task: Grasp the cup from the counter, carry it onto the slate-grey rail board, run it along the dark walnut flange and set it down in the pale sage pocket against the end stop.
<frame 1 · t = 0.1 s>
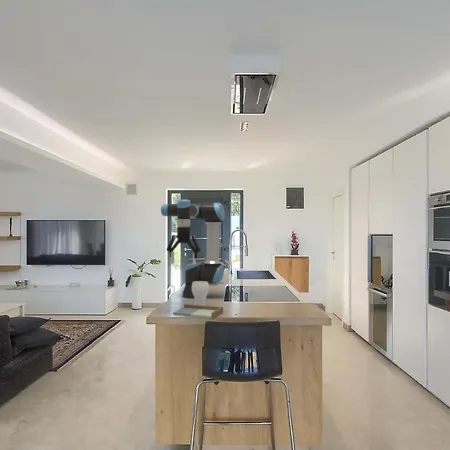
hand: (183, 263, 246), 28 cm above the countertop, fingers open, 13 cm apart
cup: (200, 307, 263), on the countertop
rail board: (198, 313, 244), on the countertop
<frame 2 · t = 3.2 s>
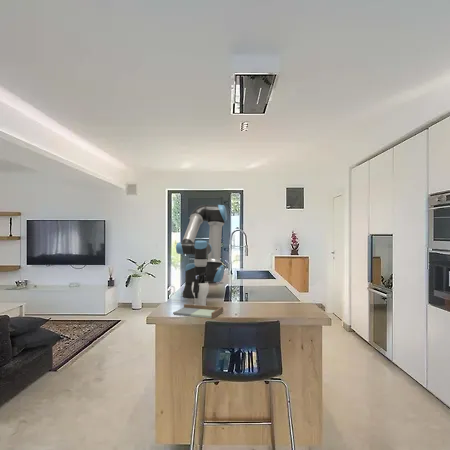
hand: (200, 301, 262), 3 cm above the countertop, fingers closed on cup, 11 cm apart
cup: (200, 307, 263), on the countertop, touching gripper
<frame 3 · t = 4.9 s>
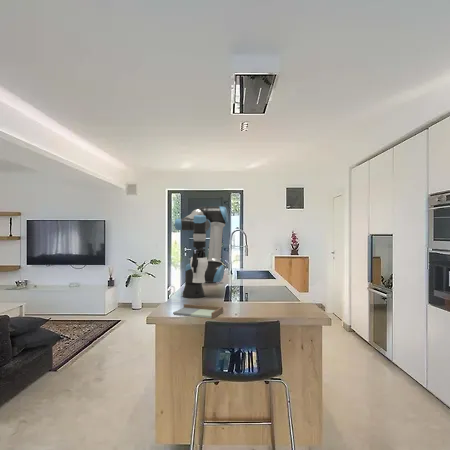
hand: (198, 277, 259), 18 cm above the countertop, fingers closed on cup, 11 cm apart
cup: (198, 282, 259), point 15 cm above the countertop, touching gripper
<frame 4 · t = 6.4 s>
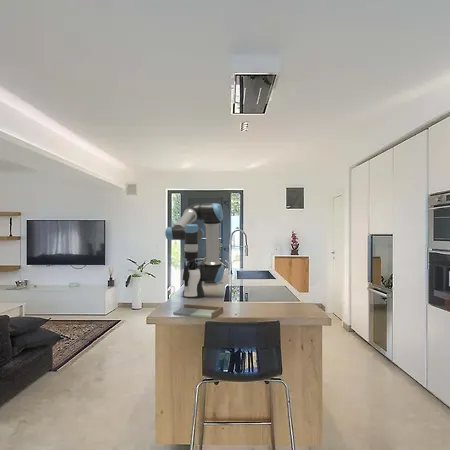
hand: (190, 290, 243), 13 cm above the countertop, fingers closed on cup, 11 cm apart
cup: (190, 296, 243), point 10 cm above the countertop, touching gripper
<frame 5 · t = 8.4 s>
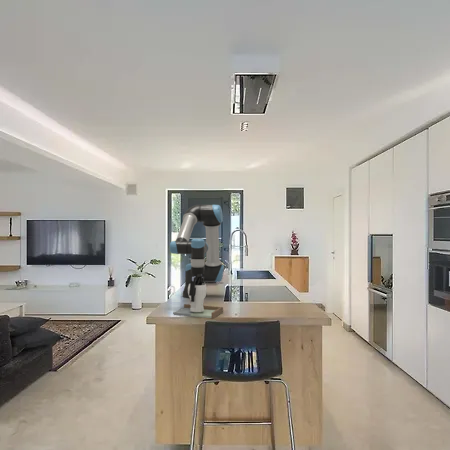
hand: (197, 305, 242), 5 cm above the countertop, fingers closed on cup, 11 cm apart
cup: (197, 311, 242), point 2 cm above the countertop, touching gripper
when the fingers open (5 cm above the countertop, at t = 9.9 s): cup stays where it is, resting on rail board.
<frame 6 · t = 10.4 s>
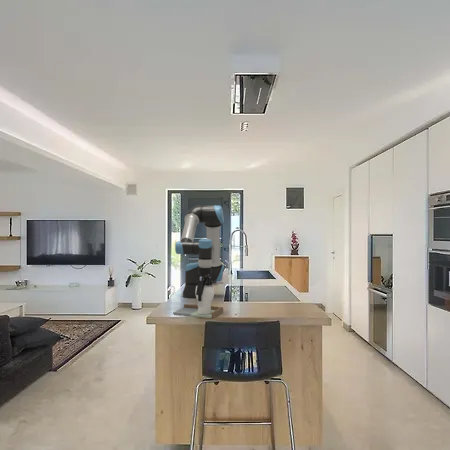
hand: (204, 304, 240), 6 cm above the countertop, fingers open, 13 cm apart
cup: (204, 313, 240), point 1 cm above the countertop, touching rail board
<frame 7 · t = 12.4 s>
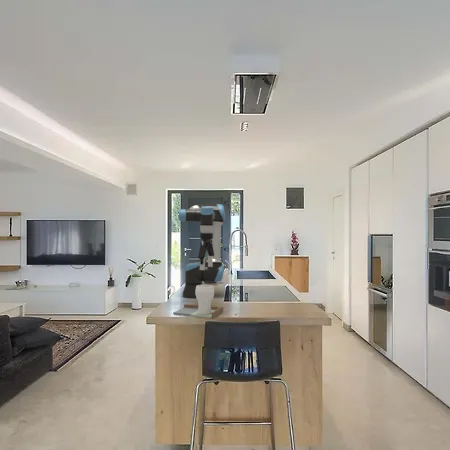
hand: (206, 268, 255), 24 cm above the countertop, fingers open, 13 cm apart
nothing on the countertop moved.
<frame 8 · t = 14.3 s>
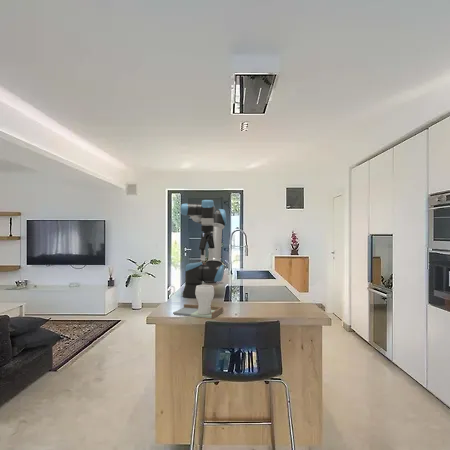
hand: (206, 259, 264), 29 cm above the countertop, fingers open, 13 cm apart
nothing on the countertop moved.
at the end: cup inside the target area (0.0 cm from its centre), point 1.0 cm above the countertop; cup tilted 0°; the gripper is holding nothing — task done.
